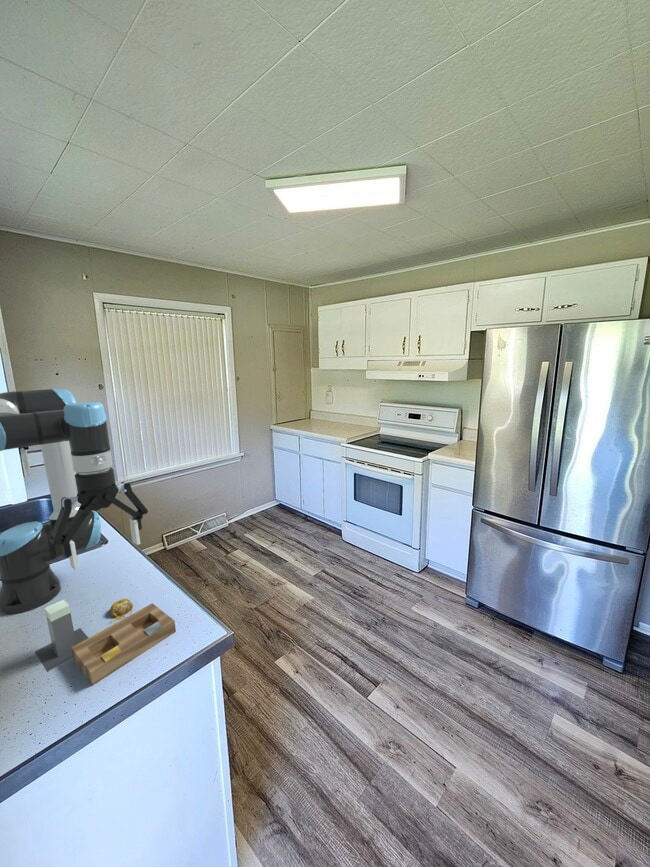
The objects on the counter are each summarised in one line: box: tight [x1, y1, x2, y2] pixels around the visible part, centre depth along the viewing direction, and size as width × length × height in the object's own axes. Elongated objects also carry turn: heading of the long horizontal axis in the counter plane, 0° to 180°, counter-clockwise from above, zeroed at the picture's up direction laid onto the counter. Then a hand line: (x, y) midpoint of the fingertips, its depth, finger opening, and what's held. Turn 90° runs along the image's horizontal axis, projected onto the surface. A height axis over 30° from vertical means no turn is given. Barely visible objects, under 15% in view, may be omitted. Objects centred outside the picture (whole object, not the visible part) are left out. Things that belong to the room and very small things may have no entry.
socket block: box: [71, 603, 177, 686], centre depth 90 cm, size 12×20×4 cm, turn 142°
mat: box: [34, 627, 89, 672], centre depth 90 cm, size 10×10×1 cm
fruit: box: [109, 598, 134, 624], centre depth 103 cm, size 8×8×4 cm
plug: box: [44, 599, 76, 657], centre depth 89 cm, size 4×4×12 cm
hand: (107, 554), depth 85 cm, fingers open, 13 cm apart
